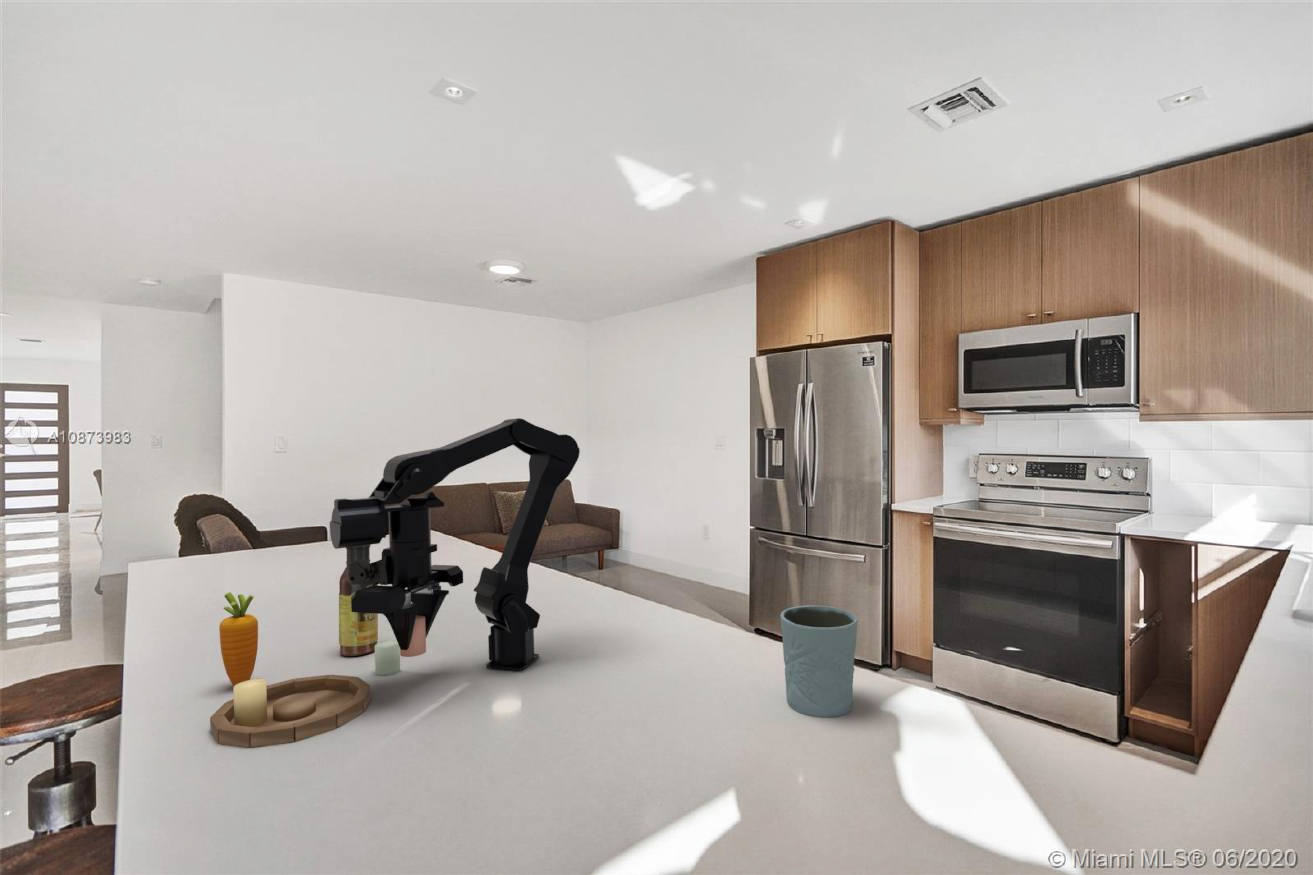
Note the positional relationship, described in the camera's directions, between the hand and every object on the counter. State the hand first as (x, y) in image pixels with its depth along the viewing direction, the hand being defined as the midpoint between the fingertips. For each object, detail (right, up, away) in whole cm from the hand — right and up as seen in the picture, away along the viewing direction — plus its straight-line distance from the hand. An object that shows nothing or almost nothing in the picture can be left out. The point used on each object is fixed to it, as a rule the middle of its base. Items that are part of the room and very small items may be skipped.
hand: (413, 645), depth 94 cm
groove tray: (-12, -7, -9) cm, 17 cm away
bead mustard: (-17, -6, -11) cm, 21 cm away
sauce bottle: (-16, -7, +18) cm, 26 cm away
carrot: (-26, -8, +1) cm, 27 cm away
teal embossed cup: (+58, -5, -8) cm, 59 cm away
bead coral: (0, -1, 0) cm, 1 cm away
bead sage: (-6, -7, +6) cm, 11 cm away
